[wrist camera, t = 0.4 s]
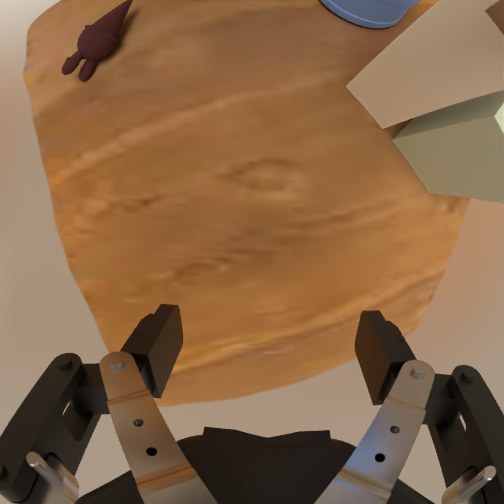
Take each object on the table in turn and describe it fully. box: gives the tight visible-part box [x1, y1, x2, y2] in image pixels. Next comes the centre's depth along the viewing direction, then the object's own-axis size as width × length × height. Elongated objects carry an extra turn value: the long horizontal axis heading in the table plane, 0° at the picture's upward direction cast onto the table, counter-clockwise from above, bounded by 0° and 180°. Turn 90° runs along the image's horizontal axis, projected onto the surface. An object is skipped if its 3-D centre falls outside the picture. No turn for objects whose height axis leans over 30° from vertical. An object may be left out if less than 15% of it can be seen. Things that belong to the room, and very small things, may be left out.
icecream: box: [62, 0, 133, 81], centre depth 28 cm, size 7×7×15 cm
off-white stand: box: [345, 0, 504, 129], centre depth 18 cm, size 10×8×32 cm
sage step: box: [391, 90, 504, 203], centre depth 25 cm, size 10×10×21 cm
